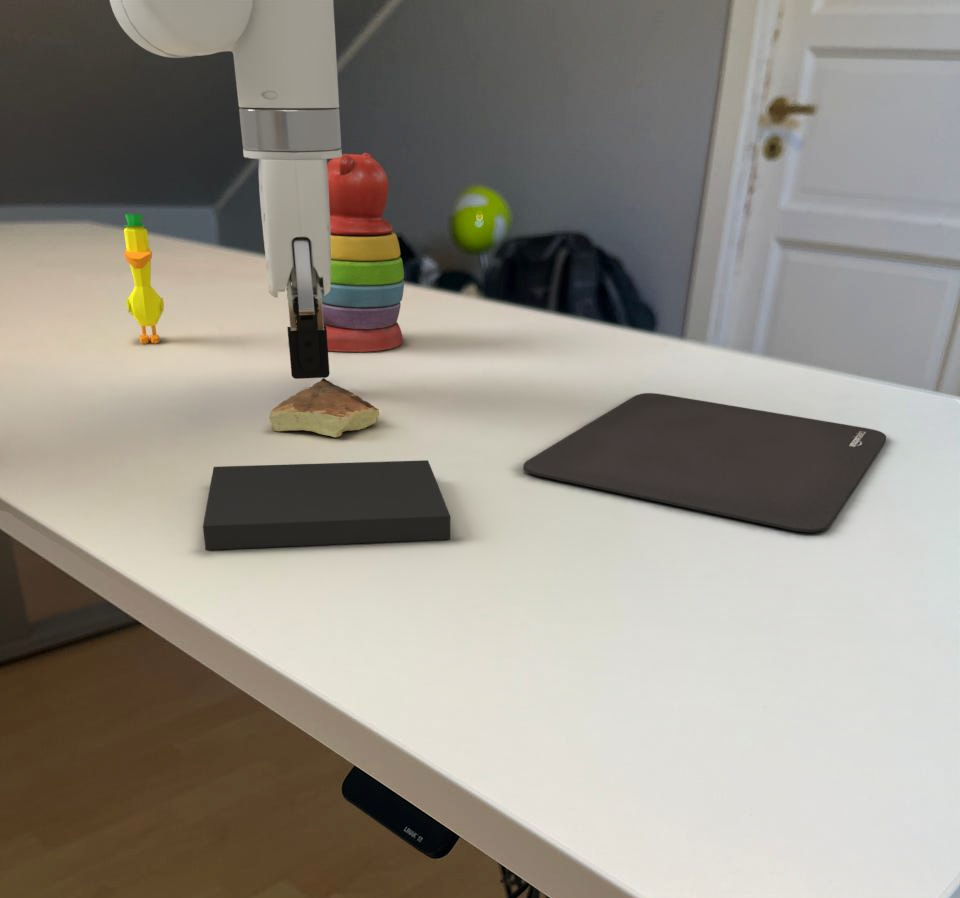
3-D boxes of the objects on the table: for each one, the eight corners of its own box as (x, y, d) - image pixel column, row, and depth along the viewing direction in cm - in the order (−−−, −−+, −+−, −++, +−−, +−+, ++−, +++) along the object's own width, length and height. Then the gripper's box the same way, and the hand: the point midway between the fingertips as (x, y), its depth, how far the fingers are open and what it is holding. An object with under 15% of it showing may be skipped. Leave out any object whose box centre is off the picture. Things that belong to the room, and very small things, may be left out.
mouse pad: (822, 537, 59) (822, 533, 59) (513, 471, 68) (513, 468, 67) (889, 434, 78) (890, 431, 78) (642, 392, 87) (642, 390, 87)
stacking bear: (343, 327, 108) (336, 148, 99) (423, 338, 104) (423, 153, 96) (286, 346, 99) (273, 151, 91) (372, 358, 96) (367, 157, 87)
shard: (323, 395, 84) (322, 374, 83) (407, 404, 82) (407, 383, 81) (266, 430, 75) (264, 407, 74) (358, 441, 73) (358, 417, 72)
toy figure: (167, 348, 97) (150, 218, 91) (129, 349, 96) (110, 218, 90) (168, 334, 103) (152, 210, 97) (132, 335, 102) (115, 210, 96)
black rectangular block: (205, 550, 55) (202, 525, 54) (215, 488, 64) (213, 466, 63) (450, 539, 57) (450, 516, 57) (428, 481, 66) (428, 459, 65)
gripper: (243, 131, 80) (266, 356, 89) (239, 141, 67) (266, 402, 77) (334, 131, 81) (348, 353, 91) (347, 141, 69) (361, 398, 78)
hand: (310, 375), depth 84 cm, fingers closed
